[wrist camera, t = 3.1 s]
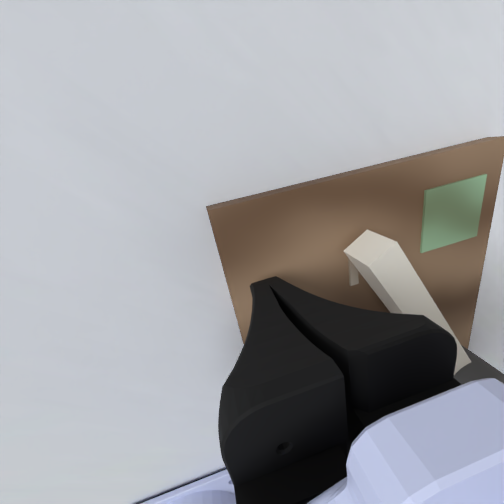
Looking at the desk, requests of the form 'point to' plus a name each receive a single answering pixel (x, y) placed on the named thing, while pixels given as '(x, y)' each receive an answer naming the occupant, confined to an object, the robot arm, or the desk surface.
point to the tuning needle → (409, 295)
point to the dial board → (369, 218)
